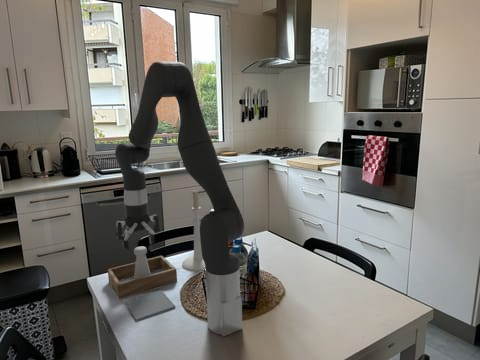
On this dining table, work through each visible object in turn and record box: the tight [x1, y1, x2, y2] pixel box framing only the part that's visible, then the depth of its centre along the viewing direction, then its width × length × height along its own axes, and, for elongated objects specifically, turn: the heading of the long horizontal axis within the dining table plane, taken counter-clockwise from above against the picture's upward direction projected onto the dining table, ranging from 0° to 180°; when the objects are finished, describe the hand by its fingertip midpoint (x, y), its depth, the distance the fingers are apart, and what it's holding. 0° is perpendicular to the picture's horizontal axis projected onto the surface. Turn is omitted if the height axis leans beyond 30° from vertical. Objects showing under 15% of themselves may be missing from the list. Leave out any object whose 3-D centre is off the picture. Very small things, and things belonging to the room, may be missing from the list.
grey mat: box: [124, 289, 176, 322], centre depth 108 cm, size 12×12×1 cm
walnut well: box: [107, 255, 178, 300], centre depth 122 cm, size 14×20×5 cm
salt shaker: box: [133, 245, 152, 279], centre depth 121 cm, size 6×6×13 cm
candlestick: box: [182, 189, 205, 272], centre depth 134 cm, size 13×13×30 cm
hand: (139, 246), depth 120 cm, fingers open, 8 cm apart
